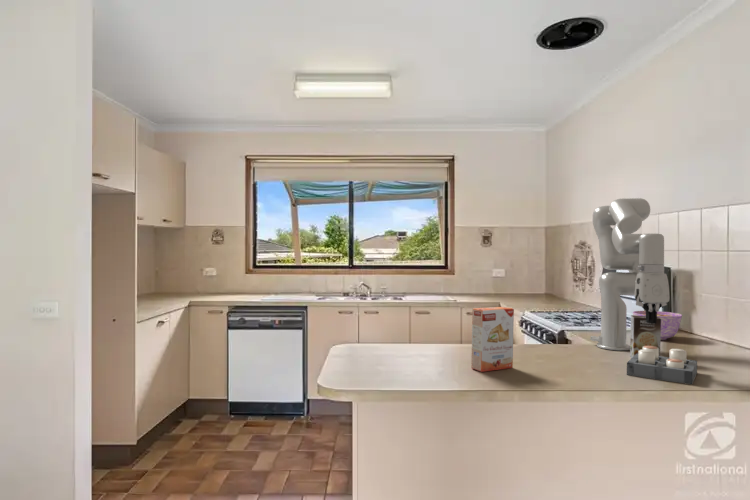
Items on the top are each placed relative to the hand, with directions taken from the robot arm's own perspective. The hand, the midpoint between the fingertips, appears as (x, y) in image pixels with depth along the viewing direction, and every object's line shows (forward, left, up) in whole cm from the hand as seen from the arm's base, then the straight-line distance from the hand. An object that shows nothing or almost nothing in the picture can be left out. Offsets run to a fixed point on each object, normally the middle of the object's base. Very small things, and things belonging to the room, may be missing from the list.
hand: (651, 322), depth 165 cm
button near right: (+8, -8, -16) cm, 19 cm away
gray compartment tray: (+4, -4, -16) cm, 17 cm away
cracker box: (-43, -33, -16) cm, 57 cm away
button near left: (0, -8, -14) cm, 16 cm away
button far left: (0, 0, -14) cm, 14 cm away
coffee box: (-4, +16, -16) cm, 23 cm away
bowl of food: (-7, +69, -16) cm, 72 cm away
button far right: (+8, 0, -14) cm, 16 cm away
